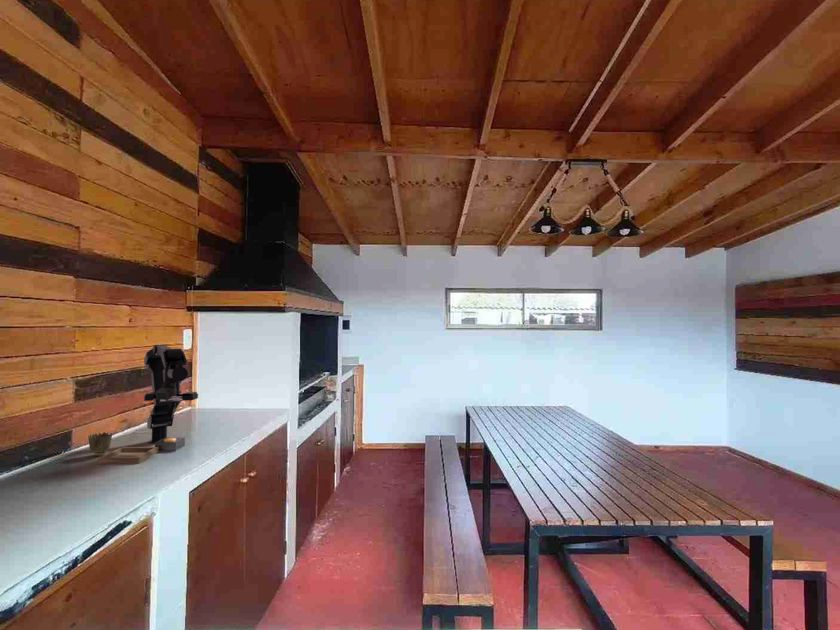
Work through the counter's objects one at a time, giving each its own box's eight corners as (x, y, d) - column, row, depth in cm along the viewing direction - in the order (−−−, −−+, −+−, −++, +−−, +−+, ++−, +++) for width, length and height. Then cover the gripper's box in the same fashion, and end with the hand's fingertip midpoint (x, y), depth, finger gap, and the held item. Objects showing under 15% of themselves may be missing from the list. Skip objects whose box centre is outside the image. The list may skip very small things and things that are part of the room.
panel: (164, 446, 178) (164, 437, 178) (184, 445, 179) (184, 437, 179) (154, 451, 170) (154, 442, 170) (175, 451, 171) (175, 442, 171)
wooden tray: (121, 452, 168) (121, 447, 168) (158, 452, 169) (158, 446, 169) (97, 464, 154) (97, 458, 154) (138, 463, 155) (138, 457, 155)
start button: (167, 443, 176) (167, 437, 177) (178, 443, 177) (178, 437, 177) (161, 446, 172) (161, 440, 172) (173, 446, 173) (173, 440, 173)
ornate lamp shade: (116, 453, 167) (117, 433, 167) (96, 459, 160) (97, 437, 160) (102, 451, 169) (103, 431, 169) (82, 457, 162) (83, 435, 162)
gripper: (136, 381, 166) (135, 422, 166) (187, 381, 168) (186, 421, 168) (151, 378, 177) (150, 416, 177) (198, 378, 179) (197, 415, 179)
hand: (171, 417), depth 175 cm, fingers closed
